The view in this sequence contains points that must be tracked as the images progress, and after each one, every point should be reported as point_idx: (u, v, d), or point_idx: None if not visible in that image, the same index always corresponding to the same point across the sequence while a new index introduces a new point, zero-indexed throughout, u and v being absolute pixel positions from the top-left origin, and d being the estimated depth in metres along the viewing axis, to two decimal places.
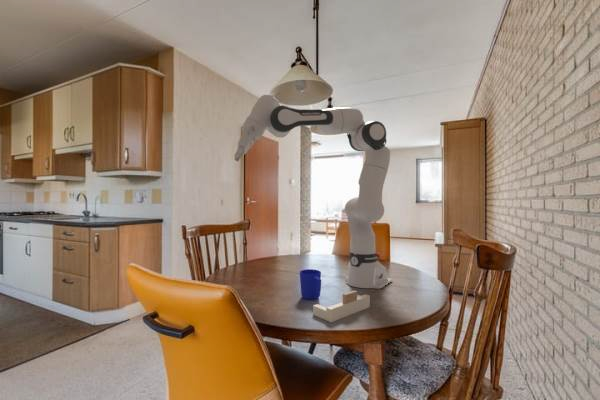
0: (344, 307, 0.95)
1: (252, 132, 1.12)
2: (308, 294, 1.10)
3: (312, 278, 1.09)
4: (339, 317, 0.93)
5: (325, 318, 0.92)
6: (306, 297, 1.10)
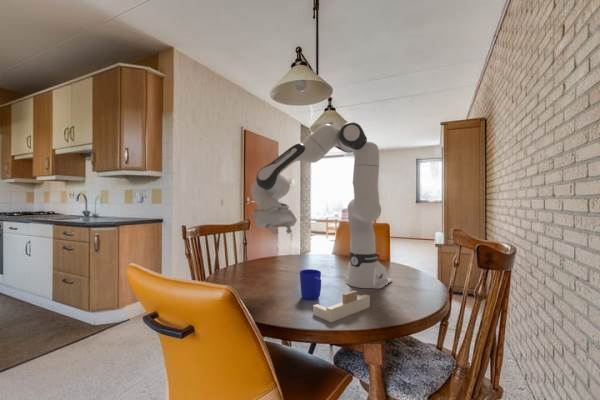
0: (344, 307, 0.95)
1: (256, 213, 1.24)
2: (308, 294, 1.10)
3: (312, 278, 1.09)
4: (339, 317, 0.93)
5: (325, 318, 0.92)
6: (306, 297, 1.10)
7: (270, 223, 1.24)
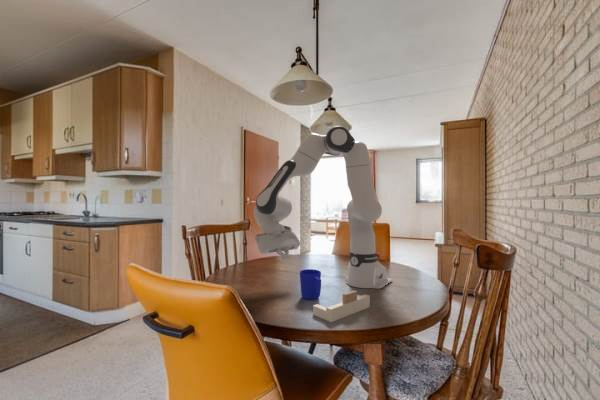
0: (344, 307, 0.95)
1: (259, 238, 1.23)
2: (308, 294, 1.10)
3: (312, 278, 1.09)
4: (339, 317, 0.93)
5: (325, 318, 0.92)
6: (306, 297, 1.10)
7: (273, 248, 1.22)
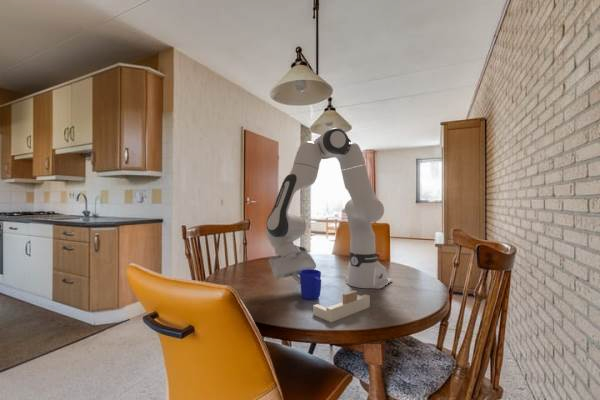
0: (344, 307, 0.95)
1: (273, 261, 1.15)
2: (308, 294, 1.10)
3: (312, 278, 1.09)
4: (339, 317, 0.93)
5: (325, 318, 0.92)
6: (306, 297, 1.10)
7: (289, 273, 1.14)
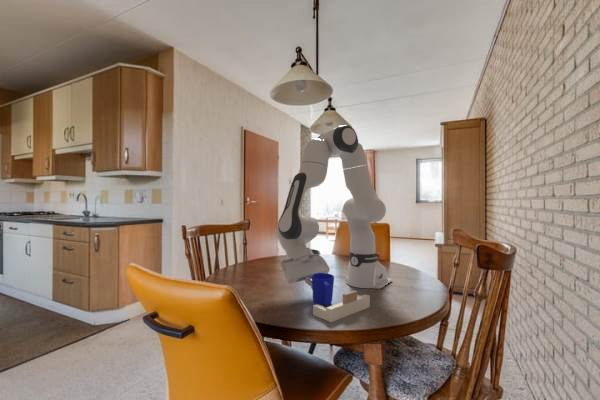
0: (344, 307, 0.95)
1: (285, 265, 1.09)
2: (318, 299, 1.04)
3: (322, 283, 1.03)
4: (339, 317, 0.93)
5: (325, 318, 0.92)
6: (316, 302, 1.05)
7: (302, 277, 1.08)
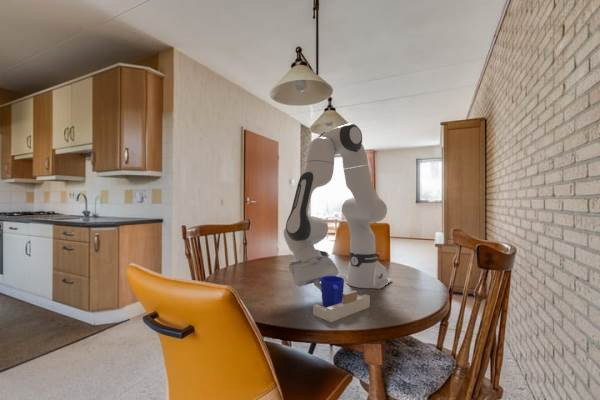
0: (344, 307, 0.95)
1: (294, 267, 1.05)
2: (327, 303, 1.00)
3: (331, 286, 0.99)
4: (339, 317, 0.93)
5: (325, 318, 0.92)
6: (325, 306, 1.01)
7: (311, 280, 1.04)
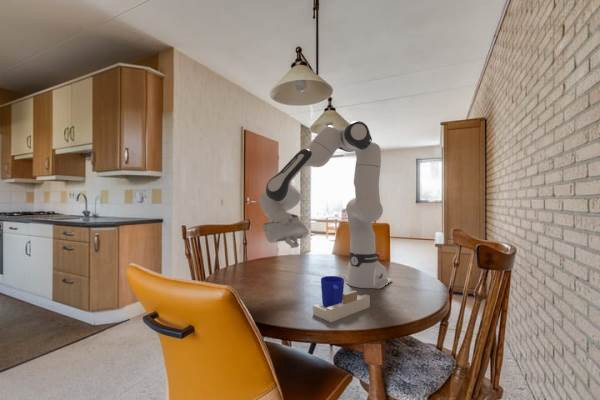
0: (344, 307, 0.95)
1: (266, 226, 1.18)
2: (328, 303, 1.00)
3: (331, 286, 0.99)
4: (339, 317, 0.93)
5: (325, 318, 0.92)
6: (326, 306, 1.01)
7: (282, 237, 1.17)
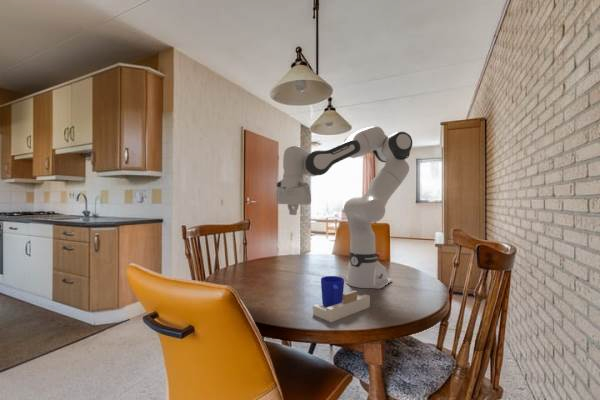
0: (344, 307, 0.95)
1: None
2: (328, 303, 1.00)
3: (331, 286, 0.99)
4: (339, 317, 0.93)
5: (325, 318, 0.92)
6: (326, 306, 1.01)
7: None
